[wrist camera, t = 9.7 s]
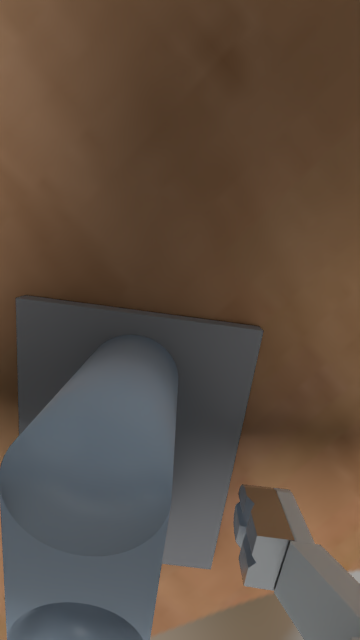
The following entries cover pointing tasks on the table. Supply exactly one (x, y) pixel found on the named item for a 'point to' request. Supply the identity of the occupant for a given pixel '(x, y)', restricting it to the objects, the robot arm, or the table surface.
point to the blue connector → (92, 499)
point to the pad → (192, 398)
